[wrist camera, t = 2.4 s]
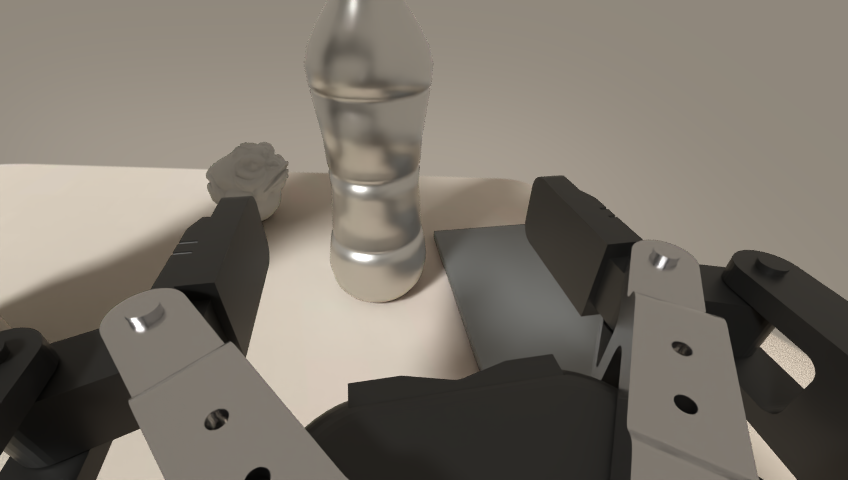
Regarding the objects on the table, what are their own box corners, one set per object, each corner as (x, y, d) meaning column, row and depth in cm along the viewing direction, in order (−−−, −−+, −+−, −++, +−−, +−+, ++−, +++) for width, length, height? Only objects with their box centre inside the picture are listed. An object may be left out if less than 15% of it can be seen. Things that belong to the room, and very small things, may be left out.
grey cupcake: (282, 241, 31) (264, 163, 27) (203, 233, 32) (172, 156, 28) (309, 204, 36) (297, 133, 32) (240, 198, 37) (219, 127, 33)
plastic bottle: (314, 293, 26) (242, -81, 15) (371, 244, 31) (352, -67, 19) (391, 330, 24) (378, -84, 12) (440, 271, 29) (465, -67, 17)
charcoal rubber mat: (568, 629, 13) (573, 625, 13) (433, 236, 32) (434, 231, 32) (803, 567, 15) (812, 562, 14) (542, 228, 34) (544, 222, 34)
